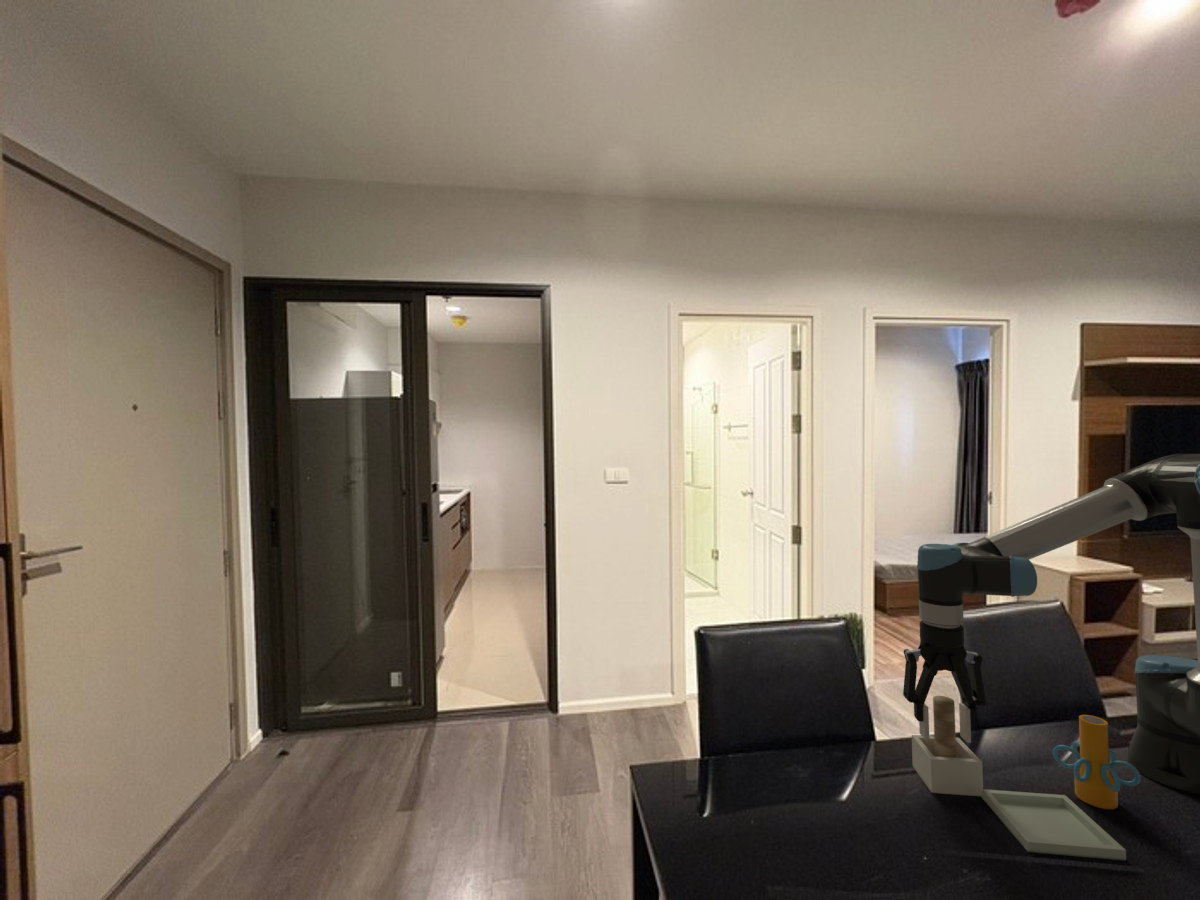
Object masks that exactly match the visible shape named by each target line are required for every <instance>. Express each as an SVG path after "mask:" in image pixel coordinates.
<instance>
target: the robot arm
mask: <svg viewBox="0 0 1200 900" xmlns="http://www.w3.org/2000/svg"><path fill="white" fill-rule="evenodd" d="M1166 514H1176V523H1177V528H1178V529H1179V530H1181V531H1182V532H1183V533H1185V535H1188V536H1189V538H1190V554H1191V555H1190V556H1191V569H1192V570H1191V571H1192V588H1193V601H1194V602H1193V603H1194V617H1195V618H1194V619H1195V633H1196V635H1195V636H1196V653H1197V659H1192V658H1185V657H1180V656H1171V655H1156V654H1155V655H1154V654H1149V655H1148V654H1147V655H1146V654H1145V655H1141V656H1139V657H1138V658H1137V659H1136V660H1135V667H1134V671H1133V672H1134V675H1135V696H1136V697H1135V698H1136V715H1137V716H1136V718H1137V724H1136V725H1137V726H1136V728H1135V730H1134V733H1133V736H1132V738H1131V740H1130V743H1129V745H1128V746H1127V747H1126V756H1127V757H1126V759H1127V761H1126V762H1127V763H1129V764H1131V765H1132V766H1134V767H1135V768H1136V769H1137V770H1138V772H1139V773H1140V775H1141V774H1142V775H1143V776H1144V777H1147V778H1149V779H1151V780H1152V781H1155V782H1158V783H1160V784H1162V785H1165V786H1166V787H1167V786H1168V787H1170V788H1173V789H1176V790H1179V791H1183V792H1186V793H1191V794H1195V795H1200V453H1176V454H1169V455H1165V456H1162V457H1158V458H1156V459H1152V460H1150V461H1148V462H1145V463H1142V464H1141V465H1138V466H1135V467H1133V468H1131V469H1128V470H1126V471H1124V472H1121V473H1119V474H1117V475H1114V476H1112V477H1109V478H1107V479H1106V480H1104V483H1103V486H1102V487H1099V488H1097V489H1095V490H1093V491H1090V492H1088V493H1085V494H1083V495H1080V496H1079V497H1078V496H1077V498H1074V499H1071V500H1069V501H1067V502H1065V503H1062V504H1060V505H1057V506H1055V507H1052V508H1051V509H1048V510H1045V511H1043V512H1040V513H1038V514H1036V515H1034V516H1031V517H1029V518H1027V519H1024V520H1022V521H1020V522H1017V523H1015V524H1012V525H1010V526H1008V527H1005V528H1002V529H1001V530H999V531H996V532H993V533H991V534H989V535H987V536H984V537H982V538H978V539H976V540H973V541H971V542H956V543H953V544H946V543H944V544H943V543H925V544H922V545H920V546H919V547H918V549H917V565H916V568H917V581H918V584H917V585H918V614H919V615H918V617H919V619H920V621H919V623H918V624H919V640H920V641H919V645H918V647H917V648H916V649H911V650H910V649H908V648H905V649H904V650H903V656H904V659H905V668H904V680H903V692H902V695H903V697H904V698H905V699H906V700H907V701H908V702H909V703H910V704H911V703H913V716H914V718H915V719H916V721H918V724H919V727H918V728H919V734H920V736H922V737H923V738H924V739H925V740H929V736H930V719H929V717H930V716H929V707H928V705H927V704H926V700H927V697H928V694H929V692H930V689H931V687H932V683H933V681H934V678H935V676H937V674H938V671H939V672H941V671H947V672H950V673H951V676H952V678H953V680H954V683H955V685H956V686H957V687H956V688H957V690H958V691H959V694H960V696H961V699H962V701H963V703H962V702H959V703H958V709H959V710H958V711H959V712H958V713H959V714H958V715H959V735H960V737H961V738H962V739H963V740H964V741H965V742H966V743H969V744H971V743H972V731H971V730H972V729H971V727H972V725H974V724H975V722H976V711H977V710H978V709H979V706H981V707H984V706H986V705H987V701H986V693H985V688H984V683H983V682H984V681H983V675H982V667H981V666H982V664H983V663H982V662H983V656H982V655H980V654H979V653H977V652H976V651H975V650H972V651H967V650H966V648H965V627H963V624H964V621H965V620H964V599H963V598H964V595H980V596H981V595H983V596H1000V597H1001V596H1002V597H1011V598H1014V597H1029V596H1032V595H1033V594H1035V592H1036V590H1037V589H1038V588H1037V587H1038V574H1037V570H1036V568H1035V566H1034V563H1033V562H1032V561H1031V560H1032V559H1035V558H1036V557H1039V556H1042V555H1045V554H1046V553H1049V552H1051V551H1055V550H1057V549H1059V548H1062V547H1064V546H1067V545H1069V544H1071V543H1074V542H1077V541H1080V540H1082V539H1085V538H1086V537H1089V536H1092V535H1095V534H1097V533H1099V532H1102V531H1104V530H1106V529H1107V530H1108V529H1109V528H1111V527H1114V526H1117V525H1120V524H1122V523H1124V522H1126V521H1129V520H1133V521H1139V522H1140V521H1141V522H1142V521H1144V520H1147V519H1148V518H1152V517H1155V516H1159V515H1166ZM920 657H922V659H924V660H923V661H924V662H923V664H922V671H921V673H920V677H919V679H918V681H917V676H918V675H917V671H918V664H917V663H919V662H920V661H919V660H920ZM963 661H966V662H967V668H968V669H967V670H968V673H969V674H968V675H969V681H970V688H971V690H970V688H969V685H968V684H967V682H966V678H965V676H964V672H963V669H962V668H961V667H962V666H961V664H962V663H963Z"/></svg>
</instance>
